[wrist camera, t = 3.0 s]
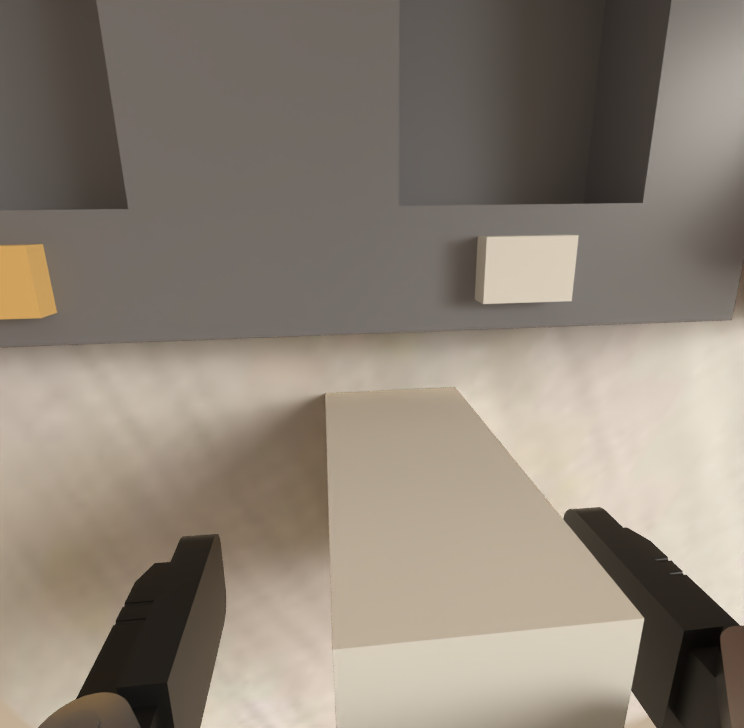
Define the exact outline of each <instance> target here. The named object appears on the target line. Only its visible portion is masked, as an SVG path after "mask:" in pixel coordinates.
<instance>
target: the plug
mask: <svg viewBox="0 0 744 728" xmlns="http://www.w3.org/2000/svg"><path fill="white" fill-rule="evenodd" d="M325 402H326V438H327V474H328V510H329V546H330V582H331V618H332V652H333V673H334V693H335V714H336V728H624V725H625V720H626V714H627V709H628V704H629V698H630V693H631V688H632V682H633V677H634V672H635V666H636V661H637V656H638V650H639V645H640V640H641V634H642V629H643V624H644V617H643V616H642V615H641V614H640V612H639V611H638V610H637V609H636V607H635V606H634V605H633V604H632V603H631V601H630V600H629V599H628V598H627V596H626V595H625V594H624V593H623V592H622V590H621V589H620V588H619V587H618V585H617V584H616V583H615V582H614V581H613V579H612V578H611V577H610V576H609V574H608V573H607V572H606V571H605V570H604V568H603V567H602V566H601V565H600V563H599V562H598V561H597V560H596V559H595V557H594V556H593V555H592V554H591V552H590V551H589V550H588V549H587V548H586V546H585V545H584V544H583V543H582V542H581V540H580V539H579V538H578V537H577V535H576V534H575V533H574V532H573V531H572V529H571V528H570V527H569V526H568V524H567V523H566V522H565V521H564V520H563V518H562V517H561V516H560V515H559V513H558V512H557V511H556V510H555V509H554V507H553V506H552V505H551V504H550V502H549V501H548V500H547V499H546V498H545V496H544V495H543V494H542V493H541V491H540V490H539V489H538V488H537V487H536V485H535V484H534V483H533V482H532V480H531V479H530V478H529V477H528V476H527V474H526V473H525V472H524V471H523V469H522V468H521V467H520V466H519V465H518V463H517V462H516V461H515V460H514V459H513V457H512V456H511V455H510V454H509V452H508V451H507V450H506V449H505V448H504V446H503V445H502V444H501V443H500V441H499V440H498V439H497V438H496V437H495V435H494V434H493V433H492V432H491V430H490V429H489V428H488V427H487V426H486V424H485V423H484V422H483V421H482V419H481V418H480V417H479V416H478V415H477V413H476V412H475V411H474V410H473V408H472V407H471V406H470V405H469V404H468V402H467V401H466V400H465V399H464V397H463V396H462V395H461V394H460V393H459V391H458V390H457V389H456V388H455V387H447V388H426V389H406V390H386V391H365V392H345V393H325Z"/></svg>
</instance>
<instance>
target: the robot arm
mask: <svg viewBox="0 0 744 728" xmlns="http://www.w3.org/2000/svg"><path fill="white" fill-rule="evenodd" d="M563 520H564V521H565V522H566V523H567V524H568V526H569V527H570V528H571V529H572V531H573V532H574V533H575V534H576V535H577V537H578V538H579V539H580V540H581V542H582V543H583V544H584V545H585V546H586V548H587V549H588V550H589V551H590V552H591V554H592V555H593V556H594V557H595V559H596V560H597V561H598V562H599V563H600V565H601V566H602V567H603V568H604V570H605V571H606V572H607V573H608V574H609V576H610V577H611V578H612V579H613V581H614V582H615V583H616V584H617V585H618V587H619V588H620V589H621V590H622V592H623V593H624V594H625V595H626V596H627V598H628V599H629V600H630V601H631V603H632V604H633V605H634V606H635V607H636V609H637V610H638V611H639V612H640V614H641V615H642V616H643V617H644V624H643V629H642V634H641V640H640V645H639V650H638V656H637V661H636V666H635V672H634V677H633V682H632V688H631V691H632V692H633V694H634V695H635V697H636V698H637V700H638V701H639V702H640V704H641V705H642V707H643V708H644V710H645V711H646V713H647V714H648V716H649V717H650V719H651V720H652V722H653V723H654V725H655V726H656V727H657V728H744V626H740V625H739V624H738V623H737V622H736V621H735V620H734V619H733V618H732V617H731V616H729V615H728V614H727V613H726V612H725V611H724V610H723V609H722V608H721V607H720V606H719V605H718V604H717V603H716V602H715V601H714V600H712V599H711V598H710V597H709V596H708V595H707V594H706V593H705V592H704V591H703V590H702V589H701V588H700V587H699V586H698V585H697V584H695V583H694V582H693V581H692V580H691V579H690V578H689V577H688V576H687V575H683V573H682V570H681V569H680V568H678V567H677V566H676V565H675V564H674V563H673V562H672V561H669V560H668V557H667V556H666V555H665V554H664V553H663V552H661V551H660V550H659V549H658V548H657V547H656V546H655V545H654V544H653V543H652V542H651V541H649V540H648V539H646V538H644V537H643V536H641V535H639V534H637V533H636V532H634V531H632V530H630V529H629V528H623V527H622V526H621V525H620V524H619V523H618V522H617V521H616V520H615V519H614V518H613V517H611V516H610V515H609V514H608V513H607V512H606V511H605V510H604V509H602V508H600V507H597V508H583V509H569V510H567V511H566V513H565V515H564V519H563ZM225 613H226V588H225V579H224V570H223V561H222V552H221V543H220V538H219V535H218V534H212V535H199V536H185V537H182V538H181V539H180V541H179V543H178V546H177V548H176V550H175V553H174V555H173V557H172V560H171V562H166V563H155V564H154V565H153V566H151V567H150V568H149V569H148V570H147V571H146V572H145V573H144V574H143V575H142V576H141V577H140V578H139V579H138V580H137V581H136V582H135V584H134V586H133V588H132V590H131V592H130V594H129V596H128V598H127V600H126V602H125V606H124V607H122V609H121V611H120V613H119V615H118V617H117V619H116V624H115V625H113V627H112V629H111V631H110V633H109V635H108V637H107V639H106V641H105V643H104V645H103V647H102V649H101V651H100V653H99V655H98V657H97V659H96V661H95V663H94V665H93V667H92V669H91V671H90V673H89V675H88V677H87V679H86V681H85V683H84V685H83V687H82V689H81V691H80V693H79V695H78V696H77V698H76V700H74V701H72V702H70V703H68V704H66V705H65V706H63V707H62V708H60V709H59V710H57V711H56V712H55V713H53V714H52V715H51V716H50V717H48V718H47V719H46V720H45V721H44V722H43V723H42V724H41V725H40V726H39V727H38V728H200V726H201V722H202V717H203V713H204V709H205V704H206V700H207V696H208V691H209V687H210V682H211V678H212V674H213V669H214V665H215V661H216V656H217V652H218V648H219V643H220V639H221V635H222V630H223V626H224V621H225Z"/></svg>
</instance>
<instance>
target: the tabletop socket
mask: <svg viewBox="0 0 744 728" xmlns="http://www.w3.org/2000/svg"><path fill="white" fill-rule="evenodd" d="M743 262H744V0H0V347H25V346H52V345H78V344H105V343H132V342H159V341H186V340H213V339H239V338H266V337H293V336H320V335H347V334H374V333H400V332H427V331H454V330H481V329H508V328H535V327H562V326H588V325H615V324H642V323H669V322H696V321H723V320H732V316H733V311H734V306H735V301H736V296H737V291H738V287H739V282H740V277H741V272H742V267H743Z"/></svg>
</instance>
